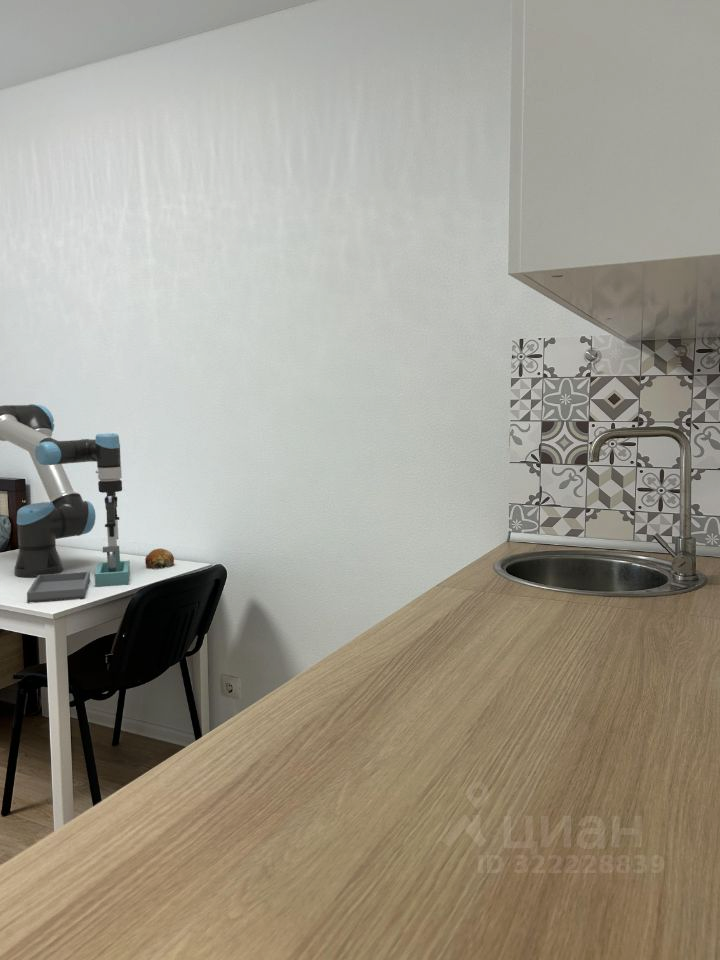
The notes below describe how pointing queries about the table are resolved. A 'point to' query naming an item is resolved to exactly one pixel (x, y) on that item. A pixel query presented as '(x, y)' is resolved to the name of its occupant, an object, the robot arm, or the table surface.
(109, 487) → the robot arm
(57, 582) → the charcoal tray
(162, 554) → the bread roll
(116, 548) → the t stake
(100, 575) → the teal boxy piece
